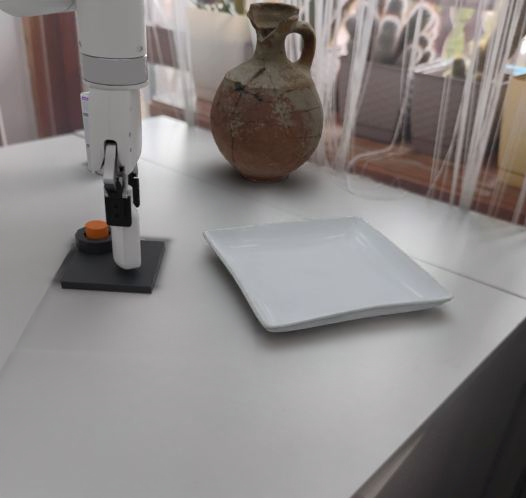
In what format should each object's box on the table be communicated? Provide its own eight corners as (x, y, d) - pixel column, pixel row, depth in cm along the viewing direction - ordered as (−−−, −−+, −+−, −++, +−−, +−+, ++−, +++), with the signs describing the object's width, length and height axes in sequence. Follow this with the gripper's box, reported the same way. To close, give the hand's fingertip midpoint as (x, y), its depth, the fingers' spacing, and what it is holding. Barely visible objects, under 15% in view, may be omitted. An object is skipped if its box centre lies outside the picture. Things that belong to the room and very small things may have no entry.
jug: (187, 167, 126) (187, -3, 109) (266, 150, 138) (277, -5, 121) (259, 202, 113) (272, 17, 96) (339, 180, 126) (363, 12, 109)
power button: (83, 239, 91) (82, 228, 90) (88, 230, 93) (87, 219, 92) (106, 241, 91) (105, 229, 90) (110, 231, 93) (109, 220, 92)
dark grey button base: (57, 288, 84) (54, 268, 82) (83, 241, 96) (81, 223, 94) (151, 294, 84) (150, 274, 83) (165, 246, 96) (165, 228, 95)
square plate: (199, 251, 96) (200, 227, 94) (357, 234, 105) (361, 212, 103) (263, 350, 76) (265, 323, 73) (451, 318, 85) (459, 293, 82)
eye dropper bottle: (106, 269, 85) (99, 183, 78) (115, 250, 89) (109, 168, 83) (139, 271, 85) (135, 186, 78) (146, 253, 90) (143, 170, 83)
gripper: (98, 53, 80) (108, 190, 90) (62, 84, 66) (79, 242, 76) (157, 57, 80) (161, 193, 90) (134, 89, 66) (141, 246, 76)
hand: (123, 214), depth 83 cm, fingers closed on eye dropper bottle, 5 cm apart
